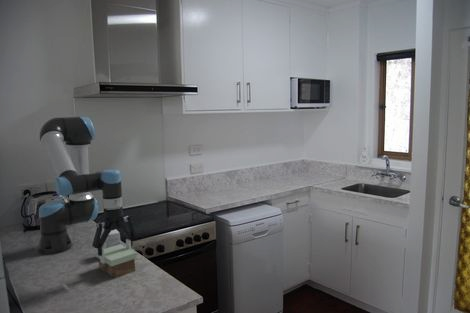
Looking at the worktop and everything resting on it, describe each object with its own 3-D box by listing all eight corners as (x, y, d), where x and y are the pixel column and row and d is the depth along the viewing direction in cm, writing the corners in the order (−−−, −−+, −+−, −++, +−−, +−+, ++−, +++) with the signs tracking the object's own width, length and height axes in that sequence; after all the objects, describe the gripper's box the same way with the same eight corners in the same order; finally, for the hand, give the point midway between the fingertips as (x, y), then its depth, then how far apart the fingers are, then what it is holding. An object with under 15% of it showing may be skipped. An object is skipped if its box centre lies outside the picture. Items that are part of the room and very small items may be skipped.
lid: (96, 259, 152) (95, 251, 151) (120, 251, 159) (120, 244, 159) (111, 268, 142) (111, 260, 141) (136, 260, 149) (136, 252, 149)
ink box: (122, 257, 166) (120, 232, 164) (111, 259, 163) (109, 234, 162) (117, 251, 173) (115, 227, 172) (106, 253, 170) (104, 229, 169)
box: (99, 269, 153) (98, 256, 152) (119, 263, 159) (118, 250, 158) (114, 280, 143) (113, 265, 142) (135, 272, 149) (134, 258, 149)
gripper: (88, 215, 137) (92, 269, 140) (143, 203, 153) (145, 252, 156) (80, 211, 142) (84, 264, 145) (134, 200, 159) (136, 248, 161)
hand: (116, 258), depth 150 cm, fingers closed on lid, 11 cm apart
